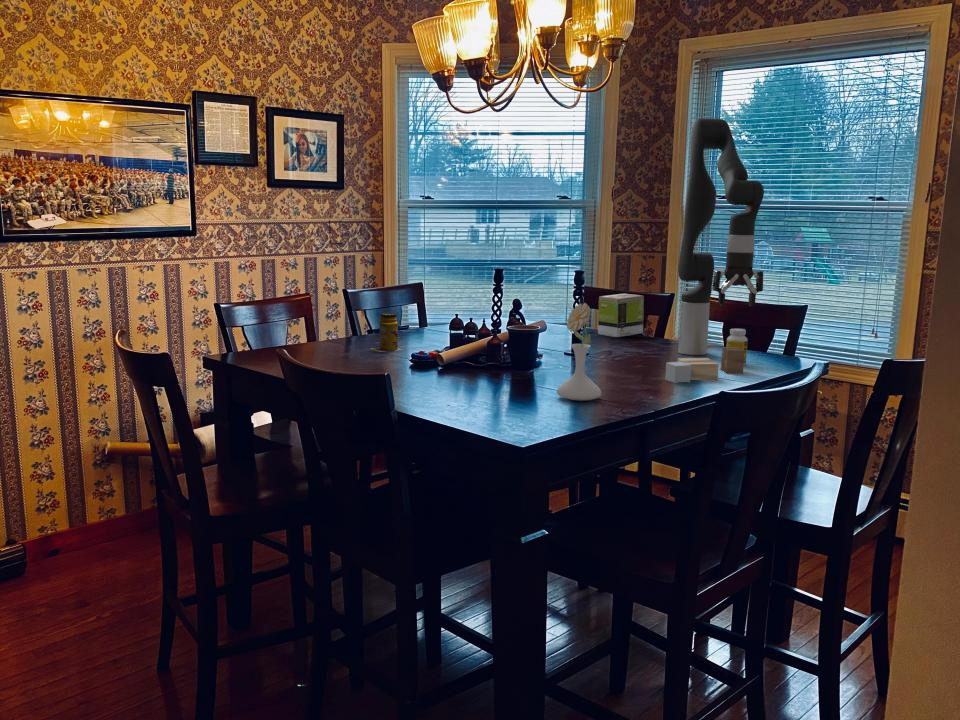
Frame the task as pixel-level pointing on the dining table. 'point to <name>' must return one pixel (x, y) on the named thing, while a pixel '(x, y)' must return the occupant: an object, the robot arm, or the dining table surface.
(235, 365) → the dining table surface
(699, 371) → the maple block
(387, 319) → the condiment
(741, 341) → the pill bottle
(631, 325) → the tea box
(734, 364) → the walnut block
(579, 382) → the flower in vase
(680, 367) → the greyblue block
